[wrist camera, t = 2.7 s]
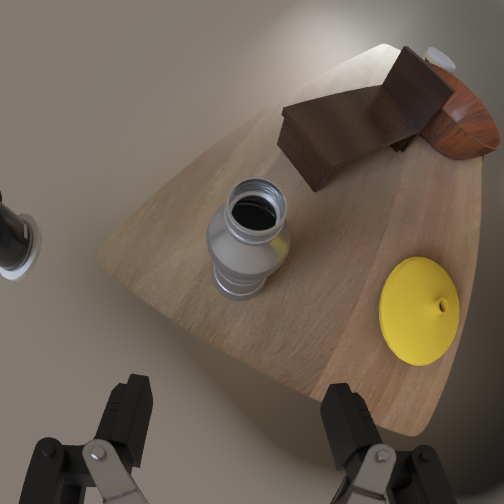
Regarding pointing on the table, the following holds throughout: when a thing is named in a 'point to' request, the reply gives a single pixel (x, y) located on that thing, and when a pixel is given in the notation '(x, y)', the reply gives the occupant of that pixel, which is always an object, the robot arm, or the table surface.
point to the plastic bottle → (248, 238)
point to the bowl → (461, 123)
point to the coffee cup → (439, 59)
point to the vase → (419, 311)
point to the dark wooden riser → (362, 119)
